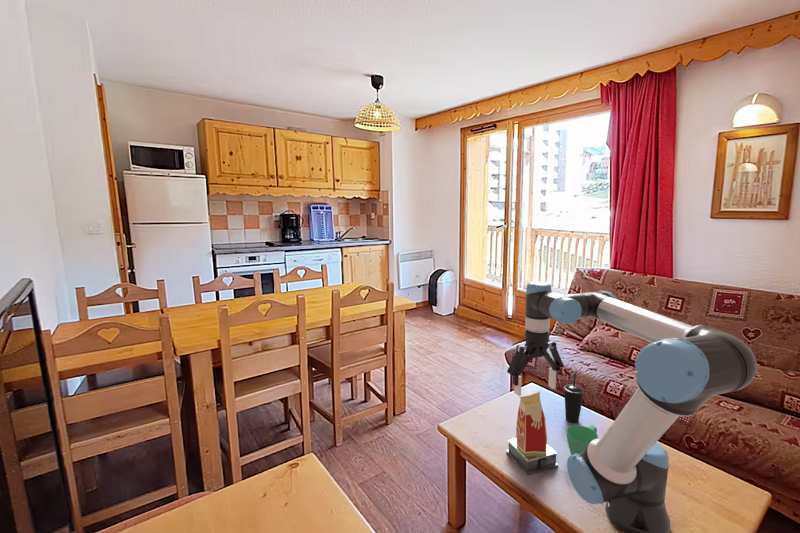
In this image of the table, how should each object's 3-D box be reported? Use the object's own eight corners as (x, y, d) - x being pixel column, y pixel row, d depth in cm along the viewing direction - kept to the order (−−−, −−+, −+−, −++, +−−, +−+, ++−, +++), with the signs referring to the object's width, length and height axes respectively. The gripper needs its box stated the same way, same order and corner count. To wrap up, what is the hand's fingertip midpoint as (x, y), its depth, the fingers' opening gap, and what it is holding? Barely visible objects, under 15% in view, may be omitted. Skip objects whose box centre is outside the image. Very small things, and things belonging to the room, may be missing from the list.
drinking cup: (557, 417, 157) (560, 371, 154) (571, 413, 160) (573, 368, 157) (573, 427, 150) (576, 379, 147) (586, 422, 153) (589, 375, 150)
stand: (558, 467, 127) (559, 454, 126) (527, 475, 124) (528, 461, 123) (534, 446, 139) (535, 433, 138) (506, 452, 135) (506, 439, 134)
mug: (589, 473, 124) (591, 445, 123) (559, 459, 131) (561, 432, 130) (606, 454, 134) (608, 428, 132) (578, 441, 141) (580, 416, 139)
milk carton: (538, 437, 135) (541, 384, 132) (548, 454, 126) (551, 398, 123) (512, 437, 136) (514, 385, 132) (520, 454, 126) (522, 398, 123)
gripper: (560, 322, 131) (558, 380, 134) (497, 330, 124) (496, 391, 127) (576, 328, 124) (573, 389, 127) (510, 337, 117) (509, 402, 120)
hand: (534, 390), depth 127 cm, fingers open, 13 cm apart
